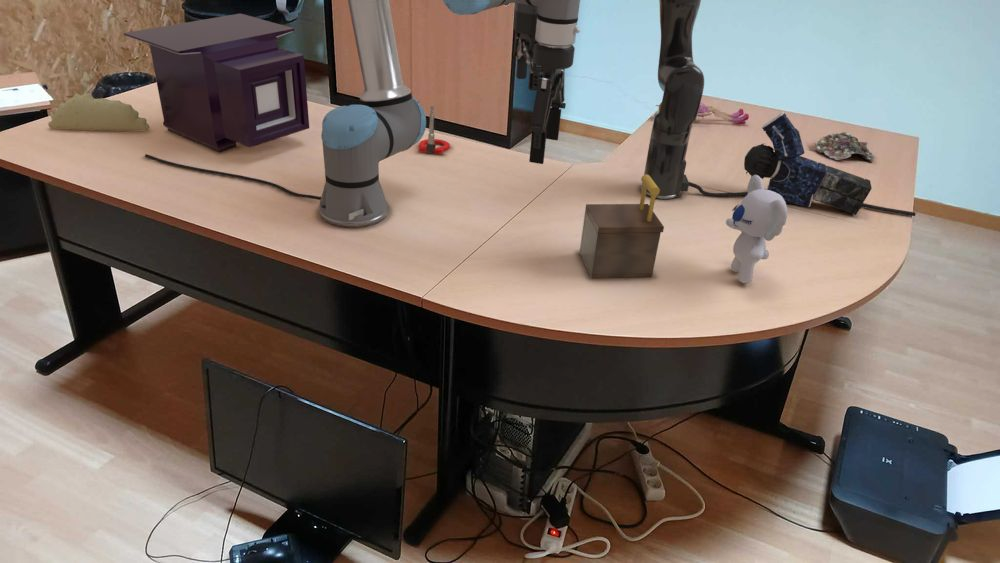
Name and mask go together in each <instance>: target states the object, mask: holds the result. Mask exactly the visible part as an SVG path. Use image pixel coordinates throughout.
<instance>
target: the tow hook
mask: <svg viewBox="0 0 1000 563" xmlns="http://www.w3.org/2000/svg"><path fill="white" fill-rule="evenodd" d="M434 110H435V106H434V105H430V113H429V126H428V127H429V128H428V129H429V130H428V131H429V132H428V135H427V137H428V138H426V139H423V140H422V139H421V140H420V141H419V142H418V152H423V153H428V154H439V155H443V154H444V152H445V151H448V150H449V149H450V148H451V144H450V143H449V142H448V141H446V140H443V139H439V138H435V113H434ZM437 144H439V145H441V146H437V147H436V145H437Z"/></svg>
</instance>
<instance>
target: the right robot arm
mask: <svg viewBox="0 0 1000 563" xmlns="http://www.w3.org/2000/svg"><path fill="white" fill-rule="evenodd" d="M658 2H659V24H660V25H659V26H660V48H659V57H658V66H657V82H658V85H659V88H660V90H661V91H662V92H663V94H662V100H661V102H662V104H661V108H660V111H659V110H658V111H656V113H655V114H654V116H653V122H652V128H651V133H650V138H649V144H648V148H647V156H646V160H645V161H646V162H645V165H644V172H643V175H646V174H647V175H649V176H650V177H651V179H652V180H653V181H654V183H655V184H656V185H657V186H658V188H659V189H660V192H659V194H658V195H656V197H655V199H660V200H661V199H662V200H669V199H670V200H671V199H674V198H678V199H679V198H680V196H681V192H689V188H690V187H691V188H694V189H697V190H698V192H699V193H700V194H701V195H703V196H706V197H712V198H725V197H727V198H728V197H746V195H747V194H748V191H738V192H709V191H705V190H704V189H703V188H702V186H700V185H698V184H697V183H694V182H691V181H689V180H688V177H687V175H686V174H685V173H686V172H685V171H686V167H687V160H686V156H687V151H688V146H689V141H690V136H691V132H692V128H693V124H694V123H695V122H696V120H697V117H698V116H697V114H698V110H699V106H700V103H702V102H701V101H702V98H703V94H704V88H705V75H704V72H703V71H702V70H701V68H700V67H699V66H698V65H696V64H695V63H694V57H693V56H694V55H693V31H694V27H695V24H696V19H697V17H698V13H699V10H700V7H701V3H702V0H658ZM537 15H538V7H537V6H531V5H526V4H520V3H514V18H513V30H514V43H513V44H514V45H513V57H515V61H516V62H517V63H516V74H515V75H516V76H515V77H516V78H517V80H525V79H527V74H529V75H528V87H527V88H528V90H529V91H537V85H538V78H539V77H540V75H541V74H543V71H544V69H543V68H542V67H541V66H538V65H536V64H535V63H534V49H535V44H536V43H537V41H536V40H535V34H536V24H537ZM528 72H529V73H528ZM695 119H696V120H695ZM641 182H642V181H641ZM642 188H643V182H642V183H641V186H640V190H641V191H642ZM646 196H649V197H651V194H650V192H649V191H648V189H647V190H646ZM860 208H864V209H865V208H866V209H871V210H875V211H881V212H886V213H892V214H899V215H905V216H911V217H915V216H916V214H917V213H916V212H915V211H909V210H902V209H896V208H890V207H884V206H879V205H874V204H868V203H865V202H863V204H862V206H861V207H860Z"/></svg>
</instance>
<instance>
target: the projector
mask: <svg viewBox="0 0 1000 563" xmlns="http://www.w3.org/2000/svg"><path fill="white" fill-rule="evenodd" d="M294 31H295V28H294V27H292V26H287V25H283V24H279V23H276V22H272V21H269V20H264V19H262V18H259V17H256V16H255V17H254V16H252V15H247V14H244V13H235V14H230V15H224V16H217V17H212V18H205V19H200V20H194V21H188V22H181V23H175V24H169V25H163V26H157V27H151V28H146V29H145V28H144V29H139V30H134V31H128V32H123V36H125V37H127V38H130V39H133V40H136V41H138V42H142V43H145V44H148V45H149V50H150V54H151V60H152V66H153V71H154V75H155V76H154V77H155V82H156V87H157V92H158V97H159V102H160V107H161V113H162V118H163V122H162V126H163V127H165V128H166V129H167V131H168V132H170V133H172V134H175V135H177V136H179V137H182V138H184V139H187V140H189V141H191V142H193V143H196V144H197V145H200V146H203V147H205V148H207V149H209V150H212V151H215V152H217V153H219V154H220V153H224V152H227V151H229V150H233V149H235V148H237V144H240V145H242V146H245V147H247V148H249V149H250V148H253V147H256V146H259V145H262V144H266V143H269V142H271V141H275V140H278V139H281V138H285V137H287V136H289V135H293V134H296V133H300V132H302V131H305V130H308V129H310V118H309V105H308V94H307V93H308V92H307V80H306V79H307V78H306V68H305V56H304V54H303V53H302V54H301V53H297V52H296V51H295V52H294V51H291V50H288V49H285V48H282V47H279V44H278V40H277V38H280V37H282V36H286V35H287V34H291V33H292V32H294Z"/></svg>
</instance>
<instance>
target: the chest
mask: <svg viewBox="0 0 1000 563" xmlns="http://www.w3.org/2000/svg"><path fill="white" fill-rule="evenodd" d="M584 211H585V212H584V216H583V217H584V218H583V223H582V232H581V239H580V247H579V255H580V257H581V259H582V262H583V264H584V266H585V268H586V270H587V272H588V274H589V277H590V279H616V278H617V279H619V278H620V279H621V278H652V277H653V273H654V270H655V269H654V268H655V264H656V259H657V255H658V254H657V253H658V250H659V249H658V248H659V243H660V239H661V234H662V232H648V233H598V232H597V230H596V229H595V227H594V225H593V223H592V221H591V219H590V217H589V215H588V213H587V212H586V210H584Z"/></svg>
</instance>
